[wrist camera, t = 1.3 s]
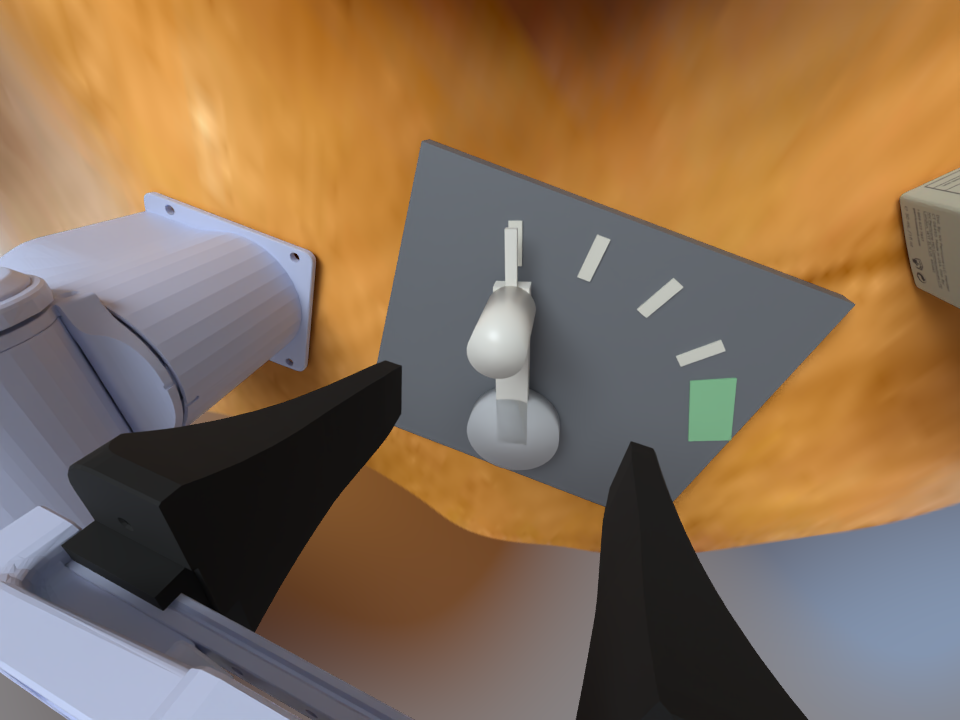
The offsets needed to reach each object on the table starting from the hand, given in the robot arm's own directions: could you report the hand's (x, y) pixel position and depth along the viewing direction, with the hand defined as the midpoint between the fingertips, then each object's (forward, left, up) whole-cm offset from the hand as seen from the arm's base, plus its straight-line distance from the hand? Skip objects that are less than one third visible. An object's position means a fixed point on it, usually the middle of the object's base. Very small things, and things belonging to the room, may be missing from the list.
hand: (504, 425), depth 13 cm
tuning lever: (0, -3, -9) cm, 9 cm away
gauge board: (+3, -3, -10) cm, 11 cm away
